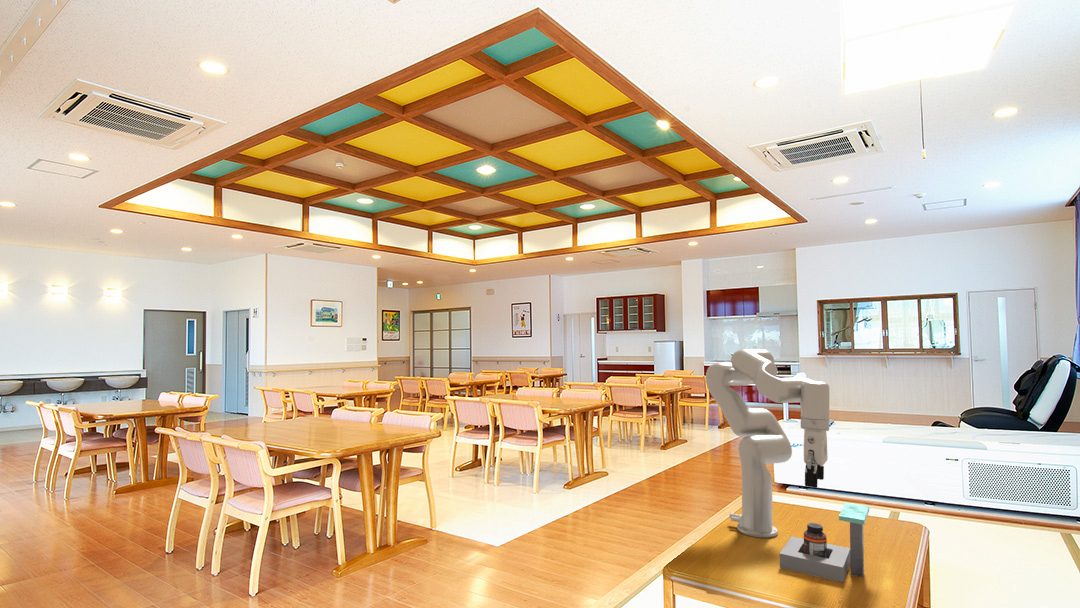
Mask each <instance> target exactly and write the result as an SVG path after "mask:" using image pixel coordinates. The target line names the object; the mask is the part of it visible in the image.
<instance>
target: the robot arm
mask: <svg viewBox="0 0 1080 608" xmlns="http://www.w3.org/2000/svg"><path fill="white" fill-rule="evenodd" d="M777 376H778V367H777V366H776V364H775V359H774V356H773V355H772V353H771V352H770V351H768V350H766V349H762V348H750V349H749V348H743V349H739V350H737V351H735V352H734V353H733V354H732V355H731V358H730V361H728V362H727V361H725V362H716V363H713V364H712V365H709V367H708V368H707V370H706V373H705V383H706V387H707V389H708V391H709V393H710V395H711V396H712V398H713V399H714V400H715V402H716V403H717V405H718V406H719V408H720V410H721V412H722V414H723V416H724V418H725V419H726V422H727V423H728V425H729V427H730V429H731V430H732V433H734V434H735V435H736V436H738V437H742V439H740V441H739V443H738V447H737V448H738V450H737V451H738V454H739V456H738V457H739V462H740V468H741V469H740V470H741V513H739V514H736V513H733V512H730V513H729V514H728V515H729V516H728V517H729V519H730V521H732V522H737V524H736V525H737V526H736V527H737V528H736V529H737V530H738V531H739V532H740V533H741V534H744V535H746V536H750V537H753V538H754V537H755V538H765V539H767V538H773V537H776V536H778V529H777V527H776V526H774V525H773V478H772V475H771V473H770V470H768V468H767V466H766V465H770V464H781V463H782V464H783V463H786V462H789V460H790V459H791V458H792V456H793V450H792V449H793V448H792V444H791V443H790V440H789V438H788V437H787V435H786V433H785V431H784V429H783V428H782V426H781V424H780V423H779V421H778V420H777V417H776V416H775V415H774V414H773V413H772V412H771V411H770V410H768V409H766V408H762V407H761V408H755V407H754V408H751V407H749V406H748V405H747V404H746V402H745V400H744V398H743V396H742V395H741V394H740V393H738V392H737V391H736V390H734V389H733V388H732V387H731V386H748V385H753V384H755V388H756V390H757V391H758V393H759V394H760V395H761V396H763V397H764V398H766V399H768V400H770V401H771V402H774V403H778V404H790V403H791V404H793V403H800V428H801V429H802V430H804V431H803V462H804V464H805V469H804V470H805V471H804V486H805V487H808V488H815V489H817V488H818V480H820V481H823V480H824V479H825V477H824V476H825V473H824V472H825V466H824V465H825V464H826V463H827V461H828V435H827V434H828V433H827V432H829V431H830V385H829V384H828V383H827V382H825V381H819V380H813V379H810V378H808V377H777Z"/></svg>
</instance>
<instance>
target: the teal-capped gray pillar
mask: <svg viewBox="0 0 1080 608" xmlns="http://www.w3.org/2000/svg"><path fill="white" fill-rule="evenodd" d="M869 513H870V506H869V505H863V504H856V503H850V502H845V503H844V505H843V507H842V508H841V511H840V513H839V515H838V521H841V522H845V523H846V522H848V523H849V548H850V565H849V567H850V568H849V569H850V573H849V574H850V576H853V577H857V578H858V577H859V578H864V575H865V559H864V558H865V554H864V553H865V552H864V551H865V549H864V547H865V546H864V541H865V540H864V536H865V535H864V534H865V533H864V525H866V521H867V517H868V516H869Z"/></svg>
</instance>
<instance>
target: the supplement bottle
mask: <svg viewBox="0 0 1080 608" xmlns="http://www.w3.org/2000/svg"><path fill="white" fill-rule="evenodd" d="M806 526H807V528H806V530H805V531H804V532H803V539H804V554H809V555H813V556H818V557H822V558H827V544H828V543H827V542H828V541H827V535H826V534H825V532H823V531H824V529H823V528H824V527H823V525H822V524H820V523H817V522H815V523H814V522H809V523H807V525H806Z"/></svg>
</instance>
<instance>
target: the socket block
mask: <svg viewBox="0 0 1080 608" xmlns="http://www.w3.org/2000/svg"><path fill="white" fill-rule="evenodd" d="M849 567H850V547H846V546H840V545H836V544H830V543H827V558H822V557H818V556H813V555H809V554H804V538H802V537H797V536H790V538H789V539H788V541H786V543H785V545H784V546H783V548H782V549H781V550H780V552H779V568H780V569H783V570H787V571H792V572H797V573H801V574H805V575H809V576H814V577H817V578H822V579H826V580H830V581H835V582H838V583H844V582H845V579H846V576H847V573H848V570H849V569H850V568H849Z"/></svg>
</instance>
